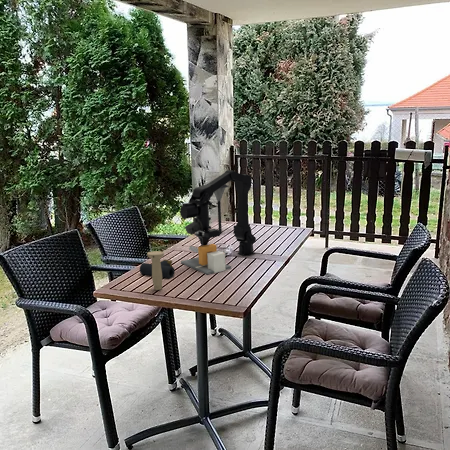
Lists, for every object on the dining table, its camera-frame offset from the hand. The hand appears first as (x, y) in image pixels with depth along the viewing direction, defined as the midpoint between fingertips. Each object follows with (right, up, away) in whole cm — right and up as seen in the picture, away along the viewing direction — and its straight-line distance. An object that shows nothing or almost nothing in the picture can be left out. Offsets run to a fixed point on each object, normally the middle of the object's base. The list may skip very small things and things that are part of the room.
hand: (204, 248), depth 204 cm
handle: (-17, -15, -26) cm, 34 cm away
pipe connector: (-18, -11, -7) cm, 22 cm away
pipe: (0, -3, +1) cm, 3 cm away
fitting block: (+6, -9, -6) cm, 12 cm away
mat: (+1, -8, +1) cm, 8 cm away
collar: (+2, -6, -1) cm, 7 cm away
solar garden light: (+7, +5, +60) cm, 61 cm away
